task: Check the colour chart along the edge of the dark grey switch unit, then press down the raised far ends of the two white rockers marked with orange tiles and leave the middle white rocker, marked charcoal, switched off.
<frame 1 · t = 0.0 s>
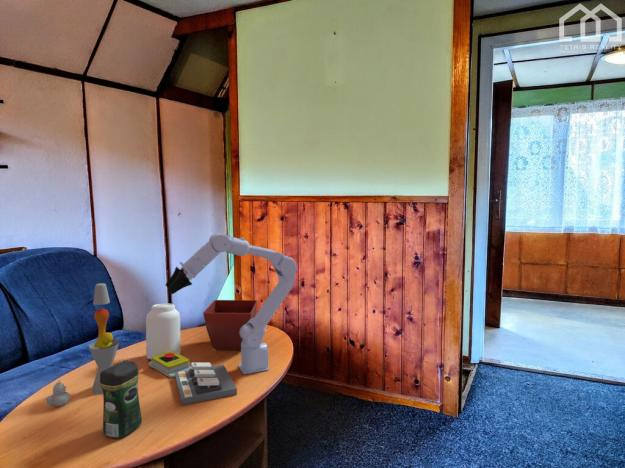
hand: (168, 289, 141), 32 cm above the table, tool tilted 50°, fingers open, 7 cm apart
lava lamp: (106, 388, 142), on the table
rocker c: (208, 381, 136), point 4 cm above the table, hinge at -10.0°
rubber duck: (58, 406, 130), on the table
emergency button: (170, 367, 156), on the table, touching white jar
coffee jar: (122, 430, 117), on the table
white jar: (163, 356, 166), on the table, touching emergency button
plant pot: (232, 345, 179), on the table
switch unit: (204, 386, 142), on the table
rocker b: (204, 373, 142), point 4 cm above the table, hinge at -10.0°
rocker a: (201, 365, 148), point 4 cm above the table, hinge at -10.0°
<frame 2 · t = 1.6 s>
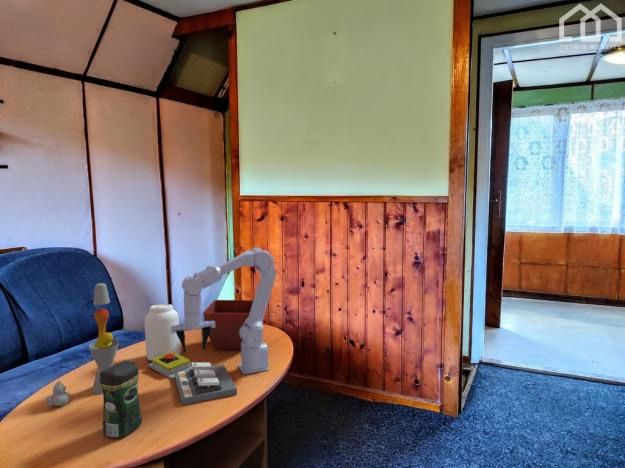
hand: (194, 350, 146), 10 cm above the table, tool pointing down, fingers open, 6 cm apart
emergency button: (171, 368, 156), on the table, touching white jar, switch unit
white jar: (164, 356, 166), on the table, touching emergency button
everything else where it was.
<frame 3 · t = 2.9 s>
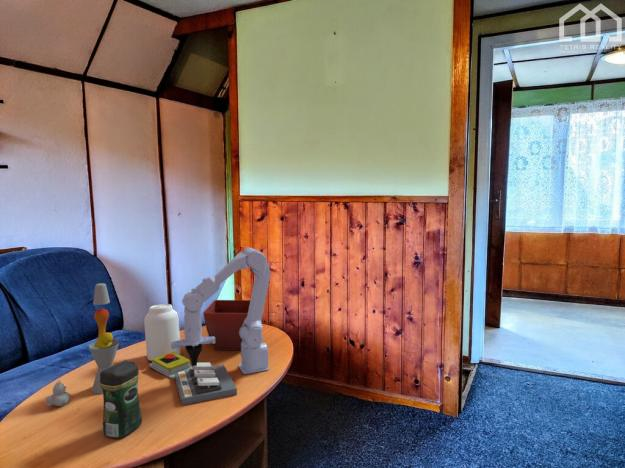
hand: (193, 365, 147), 5 cm above the table, tool pointing down, fingers closed, pressing on rocker a
emergency button: (171, 368, 156), on the table, touching white jar
rocker a: (201, 365, 148), point 4 cm above the table, hinge at -9.9°, touching gripper
everything else where it was.
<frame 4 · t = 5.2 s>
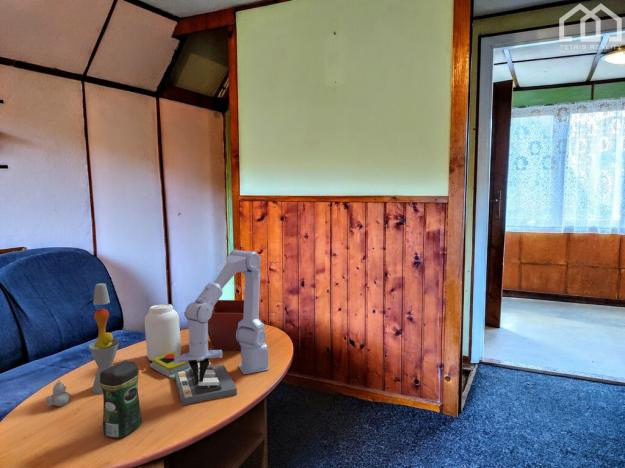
hand: (199, 381, 135), 5 cm above the table, tool pointing down, fingers closed
rocker c: (208, 381, 136), point 4 cm above the table, hinge at -9.7°, touching gripper
rocker a: (200, 365, 148), point 4 cm above the table, hinge at 7.0°
everything else where it was.
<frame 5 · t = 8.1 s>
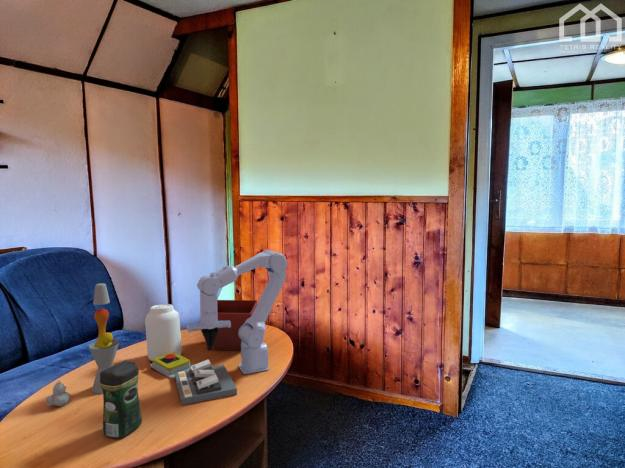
hand: (209, 349, 147), 10 cm above the table, tool pointing down, fingers closed
rocker c: (207, 381, 136), point 4 cm above the table, hinge at 11.5°
rocker a: (200, 365, 148), point 4 cm above the table, hinge at 13.7°
everything else where it was.
at the end: rocker a at +14° (first picture: -10°); rocker c at +12° (first picture: -10°); rocker b at -10° (first picture: -10°) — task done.
